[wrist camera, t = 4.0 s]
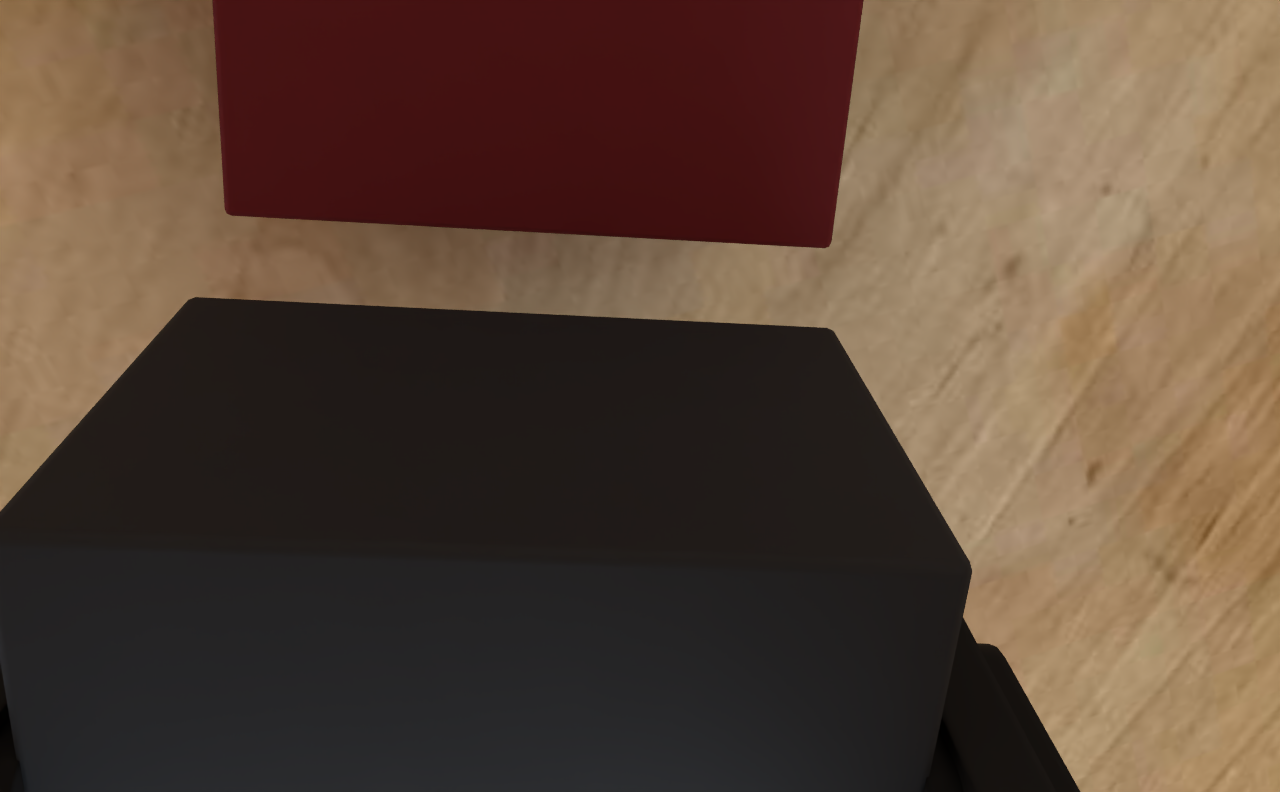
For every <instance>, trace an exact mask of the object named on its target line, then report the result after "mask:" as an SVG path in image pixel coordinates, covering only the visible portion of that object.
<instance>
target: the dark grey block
mask: <svg viewBox="0 0 1280 792" xmlns="http://www.w3.org/2000/svg"><path fill="white" fill-rule="evenodd" d="M971 575H972V569H971V565H970V562H969V560H968V558H967V557H966V555H965V553H964V551H963V550H962V548H961V546H960V545H959V543H958V541H957V540H956V538H955V536H954V534H953V533H952V531H951V529H950V528H949V526H948V524H947V523H946V521H945V519H944V518H943V516H942V514H941V512H940V511H939V509H938V507H937V506H936V504H935V502H934V501H933V499H932V497H931V495H930V494H929V492H928V490H927V489H926V487H925V485H924V484H923V482H922V480H921V479H920V477H919V475H918V473H917V472H916V470H915V468H914V467H913V465H912V463H911V462H910V460H909V458H908V456H907V455H906V453H905V451H904V450H903V448H902V446H901V445H900V443H899V441H898V440H897V438H896V436H895V434H894V433H893V431H892V429H891V428H890V426H889V424H888V423H887V421H886V419H885V417H884V416H883V414H882V412H881V411H880V409H879V407H878V406H877V404H876V402H875V401H874V399H873V397H872V395H871V394H870V392H869V390H868V389H867V387H866V385H865V384H864V382H863V380H862V379H861V377H860V375H859V373H858V372H857V370H856V368H855V367H854V365H853V363H852V362H851V360H850V358H849V356H848V355H847V353H846V351H845V350H844V348H843V346H842V345H841V343H840V341H839V340H838V338H837V336H836V334H835V333H834V331H832V330H830V329H828V328H817V327H796V326H775V325H755V324H734V323H714V322H693V321H673V320H652V319H631V318H611V317H590V316H570V315H549V314H529V313H508V312H487V311H467V310H446V309H426V308H405V307H385V306H364V305H343V304H323V303H302V302H282V301H261V300H241V299H220V298H199V297H195V298H192V299H190V300H188V301H187V302H186V303H185V304H184V305H183V307H182V308H181V309H180V310H179V311H178V312H177V313H176V314H175V316H174V317H173V318H172V319H171V320H170V321H169V322H168V323H167V325H166V326H165V327H164V328H163V329H162V330H161V331H160V332H159V334H158V335H157V336H156V337H155V338H154V339H153V340H152V341H151V343H150V344H149V345H148V346H147V347H146V348H145V349H144V351H143V352H142V353H141V354H140V355H139V356H138V357H137V358H136V360H135V361H134V362H133V363H132V364H131V365H130V366H129V367H128V369H127V370H126V371H125V372H124V373H123V374H122V375H121V376H120V378H119V379H118V380H117V381H116V382H115V383H114V384H113V385H112V387H111V388H110V389H109V390H108V391H107V392H106V393H105V394H104V396H103V397H102V398H101V399H100V400H99V401H98V402H97V403H96V405H95V406H94V407H93V408H92V409H91V410H90V411H89V412H88V414H87V415H86V416H85V417H84V418H83V419H82V420H81V421H80V423H79V424H78V425H77V426H76V427H75V428H74V429H73V430H72V432H71V433H70V434H69V435H68V436H67V437H66V438H65V439H64V441H63V442H62V443H61V444H60V445H59V446H58V447H57V448H56V450H55V451H54V452H53V453H52V454H51V455H50V456H49V457H48V459H47V460H46V461H45V462H44V463H43V464H42V465H41V466H40V468H39V469H38V470H37V471H36V472H35V473H34V474H33V475H32V477H31V478H30V479H29V480H28V481H27V482H26V483H25V484H24V486H23V487H22V488H21V489H20V490H19V491H18V492H17V493H16V495H15V496H14V497H13V498H12V499H11V500H10V501H9V502H8V504H7V505H6V506H5V507H4V508H3V509H2V510H1V511H0V663H1V669H2V675H3V681H4V687H5V693H6V699H7V705H8V711H9V717H10V723H11V729H12V736H13V742H14V748H15V754H16V760H17V761H20V767H21V774H22V780H23V786H24V792H924V787H925V782H926V778H927V777H929V775H930V771H931V766H932V761H933V756H934V752H935V747H936V742H937V737H938V732H939V728H940V723H941V718H942V713H943V709H944V704H945V699H946V694H947V689H948V685H949V680H950V675H951V670H952V666H953V661H954V656H955V651H956V646H957V642H958V637H959V632H960V627H961V623H962V618H963V613H964V608H965V604H966V599H967V594H968V589H969V584H970V580H971Z"/></svg>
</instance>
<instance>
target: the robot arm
mask: <svg viewBox="0 0 1280 792" xmlns="http://www.w3.org/2000/svg"><path fill="white" fill-rule="evenodd" d="M0 792H24V786H23V780H22V774H21V767H20V761H17V760H16V754H15V748H14V742H13V736H12V729H11V723H10V717H9V711H8V705H7V699H6V693H5V687H4V681H3V675H2V669H1V663H0ZM924 792H1080V790H1079V789H1078V787H1077V785H1076V783H1075V781H1074V780H1073V778H1072V776H1071V774H1070V772H1069V771H1068V769H1067V767H1066V765H1065V764H1064V762H1063V760H1062V758H1061V756H1060V755H1059V753H1058V751H1057V749H1056V748H1055V746H1054V744H1053V742H1052V740H1051V739H1050V737H1049V735H1048V733H1047V732H1046V730H1045V728H1044V726H1043V724H1042V723H1041V721H1040V719H1039V717H1038V715H1037V714H1036V712H1035V710H1034V708H1033V707H1032V705H1031V703H1030V701H1029V699H1028V698H1027V696H1026V694H1025V692H1024V691H1023V689H1022V687H1021V685H1020V683H1019V682H1018V680H1017V678H1016V676H1015V675H1014V673H1013V671H1012V669H1011V667H1010V666H1009V664H1008V662H1007V660H1006V658H1005V657H1004V656H1003V654H1002V653H1001V652H1000V651H999V649H998V648H997V647H995V646H993V645H990V644H977V643H976V641H975V639H974V637H973V635H972V633H971V631H970V630H969V628H968V626H967V624H966V622H965V620H964V618H962V623H961V627H960V632H959V637H958V642H957V646H956V651H955V656H954V661H953V666H952V670H951V675H950V680H949V685H948V689H947V694H946V699H945V704H944V709H943V713H942V718H941V723H940V728H939V732H938V737H937V742H936V747H935V752H934V756H933V761H932V766H931V771H930V775H929V777H927V778H926V782H925V787H924Z"/></svg>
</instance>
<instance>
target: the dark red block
mask: <svg viewBox="0 0 1280 792" xmlns="http://www.w3.org/2000/svg"><path fill="white" fill-rule="evenodd" d="M862 7H863V0H213V17H214V34H215V51H216V68H217V85H218V102H219V119H220V136H221V153H222V170H223V186H224V203H225V210H226V213H227V214H229V215H232V216H249V217H267V218H285V219H304V220H322V221H340V222H358V223H376V224H395V225H413V226H431V227H449V228H467V229H486V230H504V231H522V232H540V233H558V234H576V235H595V236H613V237H631V238H649V239H667V240H686V241H704V242H722V243H740V244H758V245H777V246H795V247H813V248H826V247H829V245H830V244H831V240H832V233H833V225H834V218H835V210H836V203H837V195H838V188H839V180H840V173H841V165H842V158H843V150H844V143H845V135H846V128H847V120H848V113H849V105H850V98H851V90H852V83H853V75H854V68H855V60H856V53H857V45H858V37H859V30H860V22H861V15H862Z"/></svg>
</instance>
